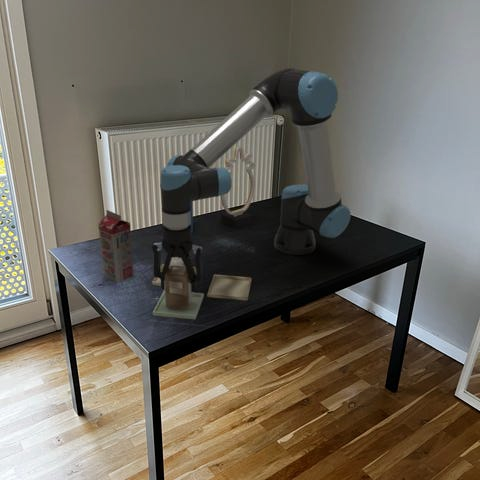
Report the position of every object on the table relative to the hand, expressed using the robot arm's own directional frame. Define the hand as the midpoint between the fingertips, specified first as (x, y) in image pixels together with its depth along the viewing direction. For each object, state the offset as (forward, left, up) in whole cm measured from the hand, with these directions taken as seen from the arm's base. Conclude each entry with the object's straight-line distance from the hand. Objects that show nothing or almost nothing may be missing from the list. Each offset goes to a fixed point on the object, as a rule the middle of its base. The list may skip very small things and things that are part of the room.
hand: (179, 299), depth 136 cm
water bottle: (+12, -53, -3) cm, 54 cm away
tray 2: (0, 0, -3) cm, 3 cm away
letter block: (0, 0, -1) cm, 1 cm away
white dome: (+5, -16, -2) cm, 17 cm away
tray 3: (-13, -12, -3) cm, 18 cm away
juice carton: (+23, -14, -3) cm, 27 cm away
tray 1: (+5, -16, -3) cm, 17 cm away
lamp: (-8, -65, -3) cm, 66 cm away
